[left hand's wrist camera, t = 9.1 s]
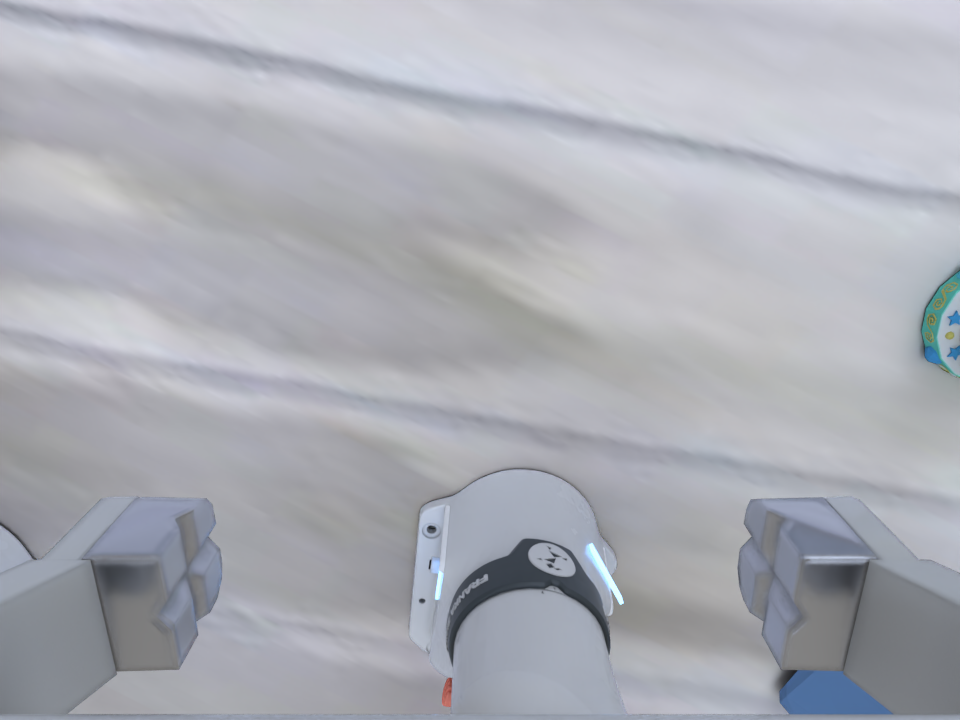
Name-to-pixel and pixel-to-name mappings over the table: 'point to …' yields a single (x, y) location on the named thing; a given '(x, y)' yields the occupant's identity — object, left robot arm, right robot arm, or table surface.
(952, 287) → the decorative hourglass
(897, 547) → the left robot arm
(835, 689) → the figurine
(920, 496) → the table surface
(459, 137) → the table surface
